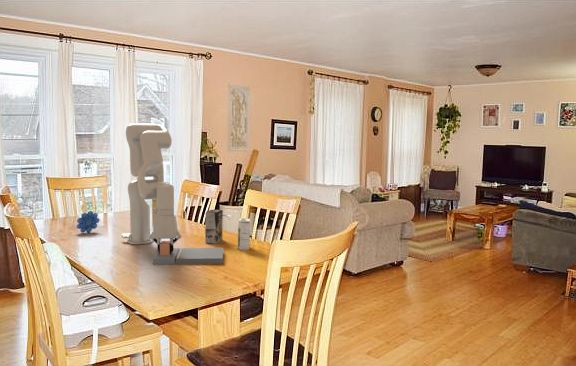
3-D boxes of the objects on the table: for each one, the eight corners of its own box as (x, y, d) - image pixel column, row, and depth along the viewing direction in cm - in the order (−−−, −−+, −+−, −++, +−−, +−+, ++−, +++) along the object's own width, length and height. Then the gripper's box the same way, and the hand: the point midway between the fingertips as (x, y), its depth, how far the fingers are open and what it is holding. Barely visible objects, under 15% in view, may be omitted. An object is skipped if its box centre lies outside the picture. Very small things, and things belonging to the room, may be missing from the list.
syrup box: (238, 247, 230) (238, 218, 228) (250, 247, 231) (250, 218, 229) (237, 249, 224) (238, 220, 223) (250, 249, 225) (250, 220, 223)
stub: (153, 264, 197) (152, 247, 196) (159, 253, 215) (159, 237, 214) (174, 264, 198) (174, 247, 197) (179, 252, 216) (179, 237, 215)
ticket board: (175, 264, 198) (175, 258, 198) (179, 253, 216) (179, 247, 216) (222, 263, 201) (222, 257, 200) (223, 252, 218) (223, 247, 218)
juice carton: (170, 225, 277) (169, 193, 275) (158, 227, 270) (158, 195, 268) (161, 223, 281) (160, 192, 279) (150, 225, 274) (149, 194, 272)
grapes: (98, 230, 260) (98, 208, 259) (100, 232, 254) (100, 210, 253) (75, 232, 254) (75, 210, 253) (77, 234, 249) (76, 212, 247)
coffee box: (216, 243, 235) (217, 212, 234) (204, 243, 237) (204, 211, 235) (222, 239, 244) (223, 209, 242) (211, 238, 246) (211, 208, 244)
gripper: (144, 213, 199) (144, 255, 201) (183, 213, 201) (183, 255, 203) (147, 210, 207) (147, 250, 209) (185, 210, 209) (185, 250, 211)
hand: (165, 252), depth 206 cm, fingers closed on stub, 4 cm apart
